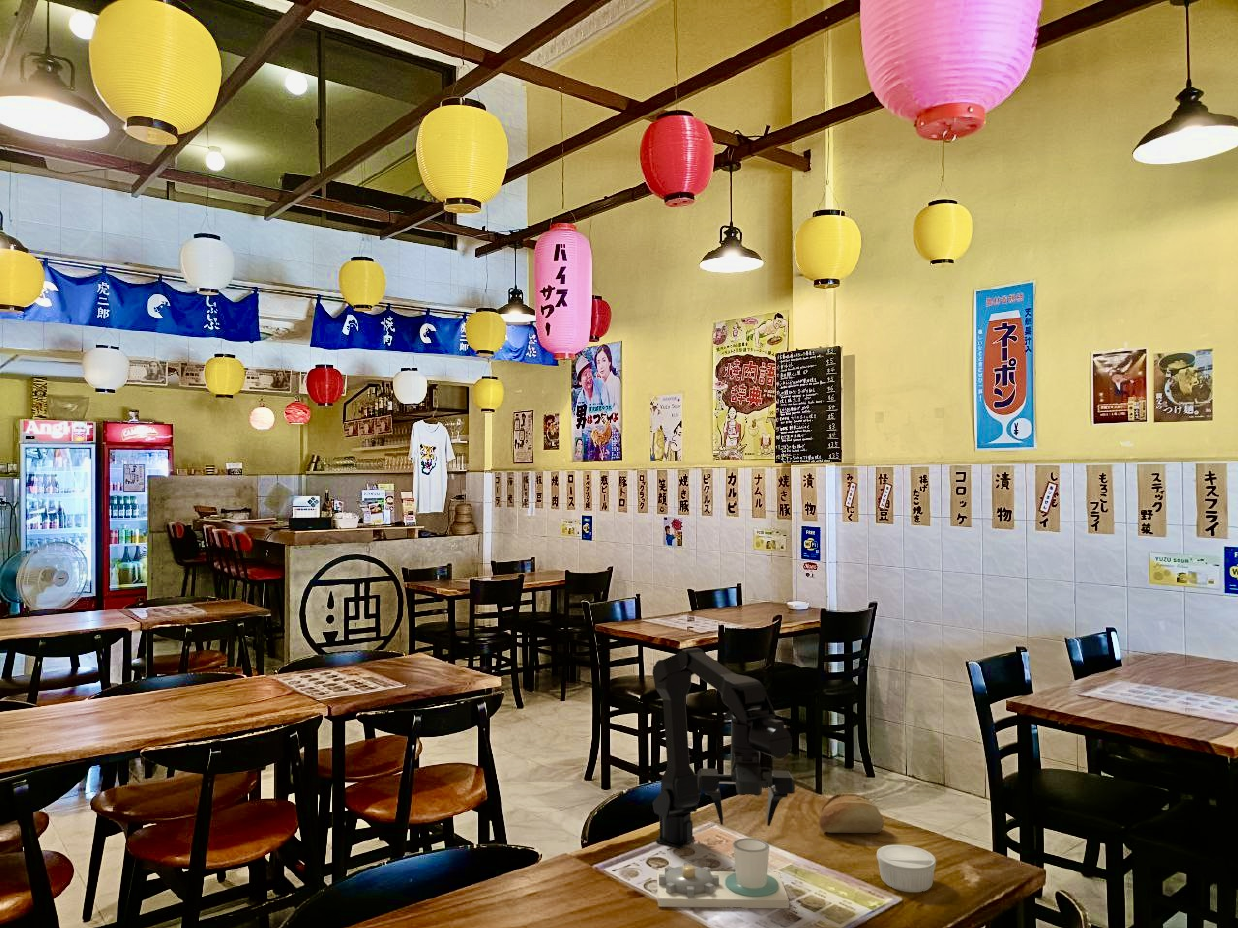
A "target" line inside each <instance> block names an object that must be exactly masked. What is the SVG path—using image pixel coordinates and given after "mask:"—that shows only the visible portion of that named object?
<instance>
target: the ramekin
mask: <svg viewBox="0 0 1238 928" xmlns="http://www.w3.org/2000/svg"><path fill="white" fill-rule="evenodd" d="M876 859H877V862H878V867H879V873H880V877H881V879H882V881H883V882H884V884H885V885H887V886H888V887H889V888H891V887H892V889H894V890H896V891H897V890H898V891H900V892H905V893H922V891H923V892H925V891H929V889H930V888H931V887H932V885H933V883H934V877H935V876H934V875H935V870H936V869H935V868H936V866H937V859H936V857H935V856H934V855H933V854H932V853H931V852H930V851H927V850H925V849H923V848H921V847H917V846H913V845H906V844H887V845H884V846H881V847H880V848H878V849H877V850H876Z"/></svg>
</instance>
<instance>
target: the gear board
mask: <svg viewBox="0 0 1238 928" xmlns="http://www.w3.org/2000/svg"><path fill="white" fill-rule="evenodd" d="M656 891H657V906H658V907H661V908H662V907H663V908H666V907H668V908H670V907H671V908H672V907H673V908H724V907H725V908H727V907H730V908H731V909H733V907H742V908H743V909H745V908H746V909H790V899H789V897H788V894H787V892H786V888H785V886H784V883H783V881H782V879H781V875H780V873H779V872H778V871H767V883H766V885H765V886H764V887H762V888H757V889H750V888H745V887H742V886H740V885H739V884H738V883H737V879H736V871H732V870H731V871H726V870H725V871H723V870H722V871H720V870H715V871H714V870H712V871H711V867H707V866H704V867H699V866H693V865H691V863H683V865H682V866H677V867H672V866H666V867H664V870H656Z"/></svg>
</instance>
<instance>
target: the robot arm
mask: <svg viewBox="0 0 1238 928" xmlns="http://www.w3.org/2000/svg"><path fill="white" fill-rule="evenodd" d="M693 675H696V676H697V677H699V679H701V680H703V681H704V682H706V683H707V684H708V685H709V686H711V687H712V688H713V689H714V690H716V691H718V692H719V693H720V697H721V701H722V702H723V704H725V705H726V706H727V707H728V708H729V710H728V711H726V712H725V713H724V718H725V719H729V720H730V722H731V723H730V724H731V725H730V726H731V727H730V730H731V731H730V733H731V734H730V774H719V771H718V768H699V770H698V771H697V774H696V773H695V771H694V770H693V768H692V767H691V765H690V752H689V751H690V750H689V737H688V736H689V735H688V725H687V724H688V723H687V722H688V721H687V710H686V708H687V707H686V697H687V695H688V693H689V691H690V688H691V687H692V676H693ZM652 677H653V683H654V689H655V690H656V691H657V693H658V694H659V696H660V698H661V699H662V705H663V708H662V709H663V720H664V736H665V737H664V738H665V739H664V740H665V748H666V749H665V750H666V751H665V753H666V769H665V771H664V773H663V775H662V777H661V780H660V793H658V794H657V796H656V797H655V799H654V800H653V801H652V808H653V809H652V811H653V814H655V815H658V816H659V837H657V838H656V839H655V842H656V843H659V844H662V845H663V844H664V845H667V846H669V847H670V846H671V847H674V848H678V849H679V848H680V849H681V848H682V849H683V847H685V846H686V845H688V844H689V843H691V842H693V841H694V840H695V836H693V828H694V827H693V820H692V818H691V817H692V814H691V813H695V812H697V809H698V807H699V802H700V801H701V794H702V792H704V793H705V795H706V796H710V797H711V799H712V801H713V804H714V806H715V809H716V813H717V816H718V820H719V823H720V826H721V825H724V815H723V806H722V797H721V796H722V795H721V791H720V790H721V789H720V786H735V790H736V794H737V795H740V796H745V795H746V796H747V795H748V796H749V795H750V796H751V795H753V796H756V797H758V796H761V795H762V794H763V789H768V792H767V796H768V797H767V808H766V825H767V827H770V826H771V823H772V821H773V818H774V815H775V812H776V810H777V807H778V805H779V803H780V801H781V800H782V799H783V798H788V796H789V795H791V794H792V795H793V794H795V793H796V791H795V790H796V788H795V787H796V785H795V779H794V777H793V775H792V773H790V771H789V770H772V767H763V766H761V762H760V761H761V753H762V754H764V755H768V756H771V757H773V758H775V759H780V760H781V759H783V758H785V757H786V756H788V754H789V753H790V751H791V749H792V745H793V738H792V736H791V732H790V731H789V730H788V729H787V728H785V722H784V720H780V719H775V718H776V717H777V714H776V713H775V710H774V707H773V704H772V703H771V701H770V699H769V696H768V693H767V691H766V689H765V686H764V684H763V683H762V682H761V681H760V680H758V679H756V678H753V677H750V676H749V675H742V674H737V673H735V672H733V671H732V670H730V669H729V668H727V667H726V666H724V665H723V664H721V663H720V662H718V660H715V659H714V658H712V657H711V656H710V655H708V654H706V653H705V651H704V649H701V648H699V647H694V648H693V647H692V648H685V649H684V648H683V649H682V650H680V651H679V652H677V653H675V654H674V655H671V656H669V657H667V658H664V659H660V660H657V661H656V662H655V664H654V665H653V666H652Z"/></svg>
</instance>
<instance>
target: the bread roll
mask: <svg viewBox="0 0 1238 928" xmlns="http://www.w3.org/2000/svg"><path fill="white" fill-rule="evenodd" d="M819 827H820V829H821V830H822V831H823V832H826V833H829V834H841V833H843V834H878V833H880V832H881V831H882V830H883V829H884V827H885V820H884V818H883V815H882V813H881V812H880V810H879V808H878V807H877V805H876V804H875V803H874V802H873V801H871V800H870V799H869V797H865V796H864V795H860V794H857V793H838V794H835V795H833V796H831V797H830V798H829V799H828V800H827V801H826V803H825V804H824V805H823V807H822V808H821V811H820V816H819Z"/></svg>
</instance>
